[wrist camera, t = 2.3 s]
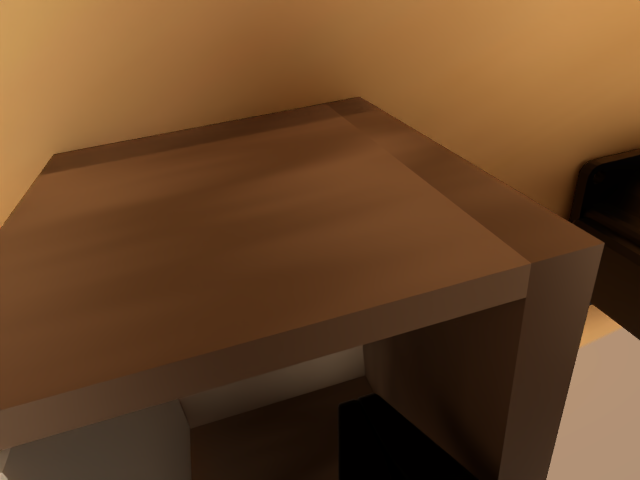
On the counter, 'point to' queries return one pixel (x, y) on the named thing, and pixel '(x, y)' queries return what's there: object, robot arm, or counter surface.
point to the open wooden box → (292, 294)
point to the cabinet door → (109, 450)
